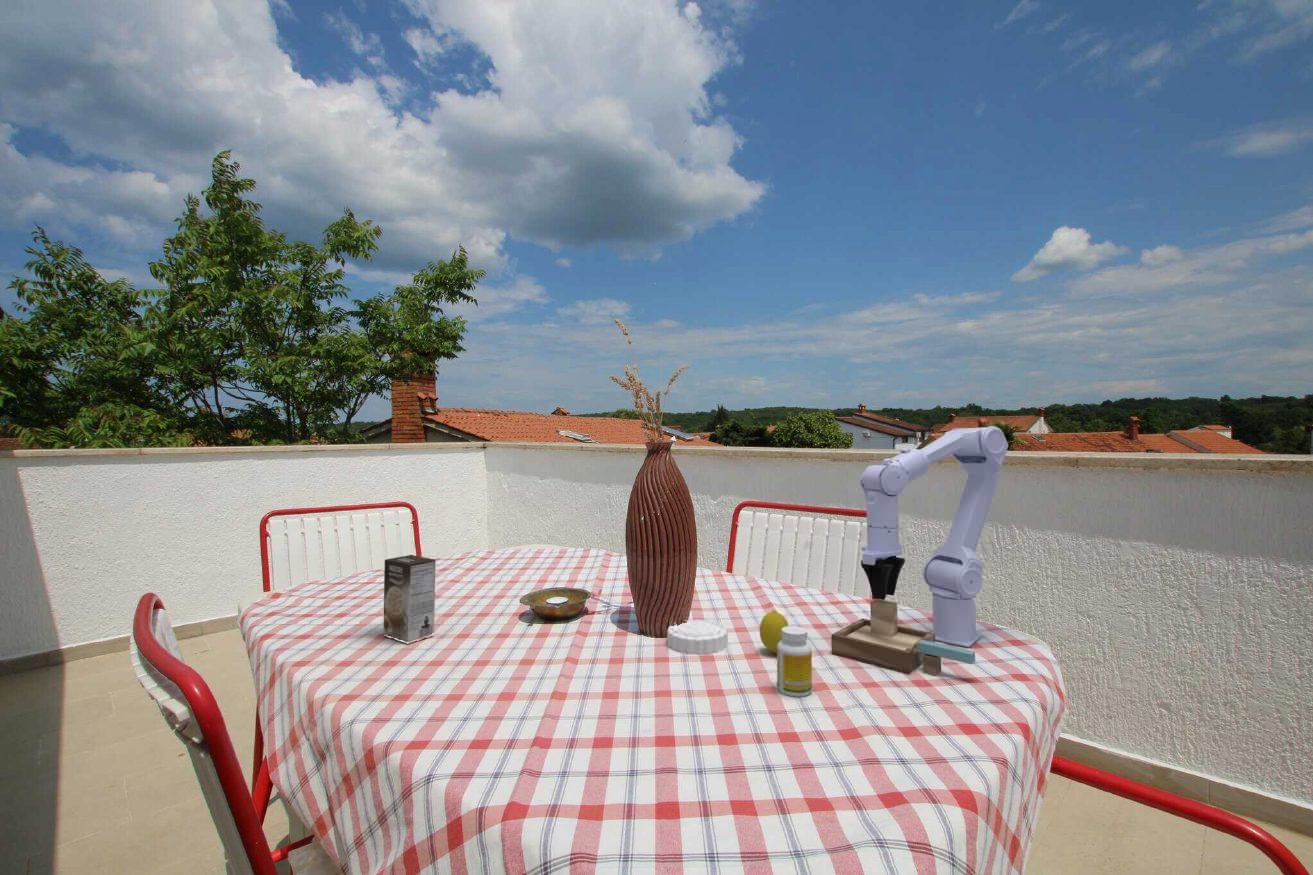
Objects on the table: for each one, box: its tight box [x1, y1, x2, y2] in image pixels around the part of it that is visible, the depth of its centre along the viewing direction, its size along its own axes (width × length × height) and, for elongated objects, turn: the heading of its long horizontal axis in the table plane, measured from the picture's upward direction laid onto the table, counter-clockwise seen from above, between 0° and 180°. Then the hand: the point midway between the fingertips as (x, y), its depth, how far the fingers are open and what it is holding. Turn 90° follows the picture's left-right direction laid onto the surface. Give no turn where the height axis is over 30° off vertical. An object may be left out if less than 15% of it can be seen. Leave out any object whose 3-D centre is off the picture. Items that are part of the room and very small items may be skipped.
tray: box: [830, 618, 942, 677], centre depth 102 cm, size 14×18×4 cm
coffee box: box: [382, 554, 437, 642], centre depth 113 cm, size 9×6×16 cm
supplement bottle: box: [776, 625, 813, 698], centre depth 87 cm, size 5×5×10 cm
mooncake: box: [666, 619, 729, 656], centre depth 109 cm, size 12×12×4 cm
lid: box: [847, 598, 923, 650], centre depth 103 cm, size 11×11×7 cm
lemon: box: [759, 610, 790, 654], centre depth 103 cm, size 6×6×8 cm
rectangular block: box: [917, 640, 976, 665], centre depth 93 cm, size 2×8×2 cm, turn 46°
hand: (883, 596), depth 106 cm, fingers open, 4 cm apart
